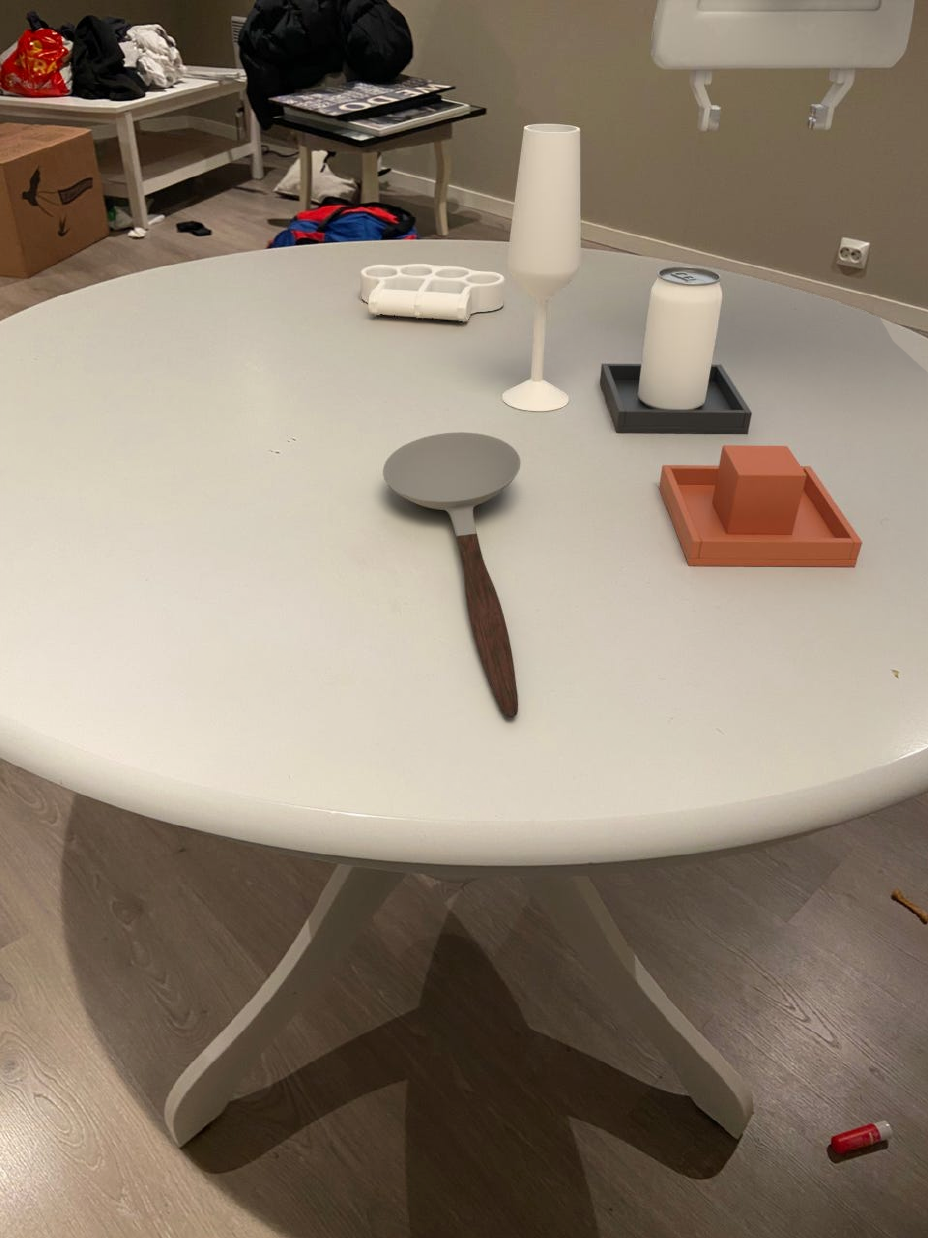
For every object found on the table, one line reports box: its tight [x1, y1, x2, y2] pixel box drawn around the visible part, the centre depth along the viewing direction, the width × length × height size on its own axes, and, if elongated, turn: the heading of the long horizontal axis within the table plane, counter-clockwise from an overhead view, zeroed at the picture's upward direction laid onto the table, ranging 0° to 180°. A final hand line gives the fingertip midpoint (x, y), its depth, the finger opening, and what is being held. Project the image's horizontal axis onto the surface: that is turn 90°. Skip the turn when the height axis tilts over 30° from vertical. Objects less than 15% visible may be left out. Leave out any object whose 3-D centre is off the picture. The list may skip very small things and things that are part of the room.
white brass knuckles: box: [359, 263, 506, 323], centre depth 117 cm, size 3×18×15 cm
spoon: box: [382, 431, 521, 718], centre depth 68 cm, size 11×33×3 cm, turn 8°
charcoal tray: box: [599, 362, 753, 435], centre depth 92 cm, size 12×12×2 cm
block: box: [712, 444, 807, 534], centre depth 73 cm, size 5×5×5 cm
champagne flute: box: [501, 123, 582, 412], centre depth 88 cm, size 7×7×24 cm
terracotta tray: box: [658, 464, 863, 568], centre depth 74 cm, size 12×12×2 cm
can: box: [638, 265, 723, 410], centre depth 89 cm, size 6×6×12 cm
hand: (763, 129), depth 81 cm, fingers open, 8 cm apart
